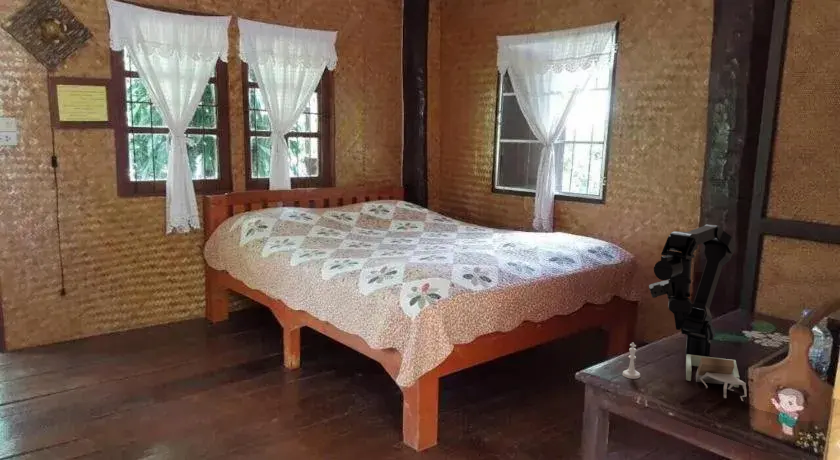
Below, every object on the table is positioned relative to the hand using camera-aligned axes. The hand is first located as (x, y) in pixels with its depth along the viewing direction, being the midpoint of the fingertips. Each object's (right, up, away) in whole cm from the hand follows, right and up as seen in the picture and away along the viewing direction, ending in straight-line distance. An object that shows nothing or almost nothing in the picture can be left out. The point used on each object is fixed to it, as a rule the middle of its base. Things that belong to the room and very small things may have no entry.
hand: (677, 324), depth 187 cm
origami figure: (+5, -16, -17) cm, 24 cm away
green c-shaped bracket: (+8, -14, -5) cm, 17 cm away
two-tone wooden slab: (+5, -14, -10) cm, 18 cm away
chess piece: (-16, -14, -5) cm, 22 cm away
